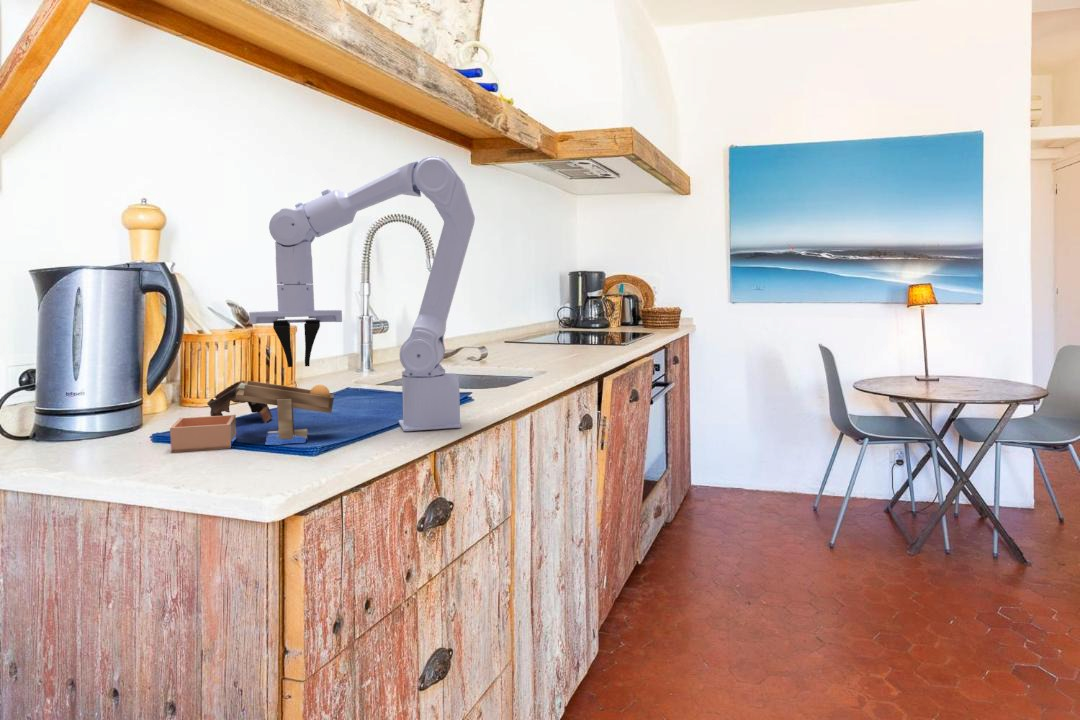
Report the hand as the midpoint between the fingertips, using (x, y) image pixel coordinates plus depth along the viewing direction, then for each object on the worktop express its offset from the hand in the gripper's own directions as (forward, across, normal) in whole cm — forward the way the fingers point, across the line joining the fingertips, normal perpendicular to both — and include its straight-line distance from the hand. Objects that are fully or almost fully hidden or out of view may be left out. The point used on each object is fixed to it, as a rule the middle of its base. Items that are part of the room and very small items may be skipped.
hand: (298, 366), depth 121 cm
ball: (+4, -3, +9) cm, 10 cm away
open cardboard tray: (+10, +14, +9) cm, 19 cm away
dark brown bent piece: (+11, +10, -10) cm, 17 cm away
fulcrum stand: (+10, +2, +9) cm, 14 cm away
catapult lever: (+5, +2, +6) cm, 8 cm away
